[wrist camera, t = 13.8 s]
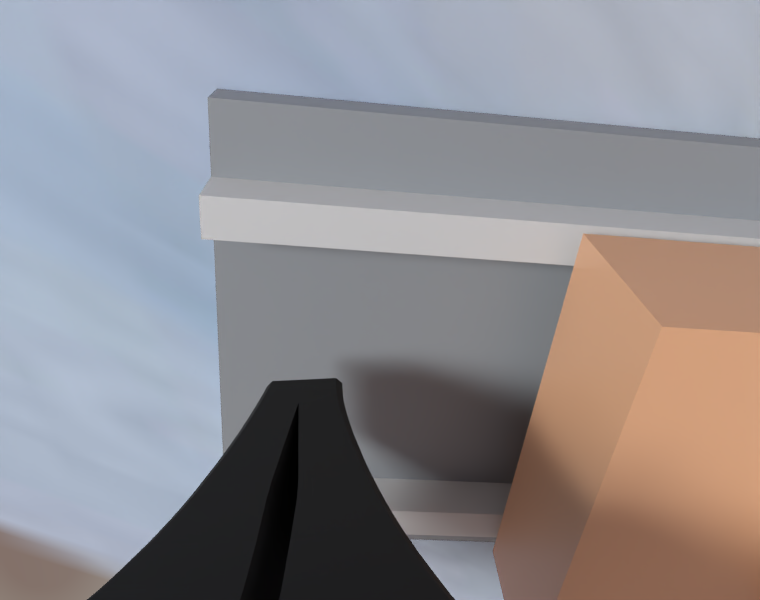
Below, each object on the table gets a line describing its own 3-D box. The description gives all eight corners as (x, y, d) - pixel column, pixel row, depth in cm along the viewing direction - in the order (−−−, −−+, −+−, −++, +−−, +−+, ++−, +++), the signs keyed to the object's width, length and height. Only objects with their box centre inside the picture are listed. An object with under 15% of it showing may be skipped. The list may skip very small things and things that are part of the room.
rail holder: (1185, 178, 13) (1817, 341, 7) (908, 533, 18) (1148, 779, 12) (217, 89, 11) (83, 213, 5) (231, 508, 16) (171, 779, 11)
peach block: (801, 250, 11) (950, 344, 8) (653, 556, 14) (719, 686, 12) (582, 233, 10) (662, 326, 8) (492, 551, 14) (524, 684, 12)
